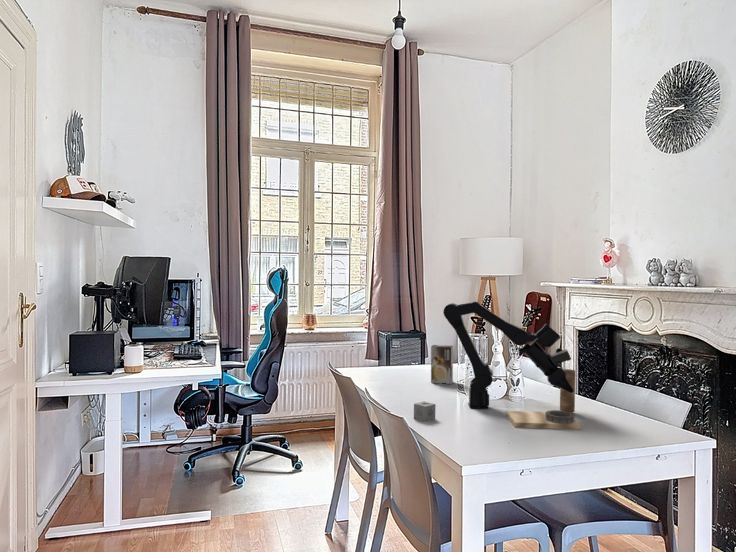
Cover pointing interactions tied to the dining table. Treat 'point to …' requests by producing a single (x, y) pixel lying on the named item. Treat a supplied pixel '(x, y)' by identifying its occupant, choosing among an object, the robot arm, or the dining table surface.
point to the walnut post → (568, 393)
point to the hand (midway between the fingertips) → (571, 390)
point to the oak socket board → (543, 419)
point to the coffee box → (442, 364)
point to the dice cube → (424, 411)
